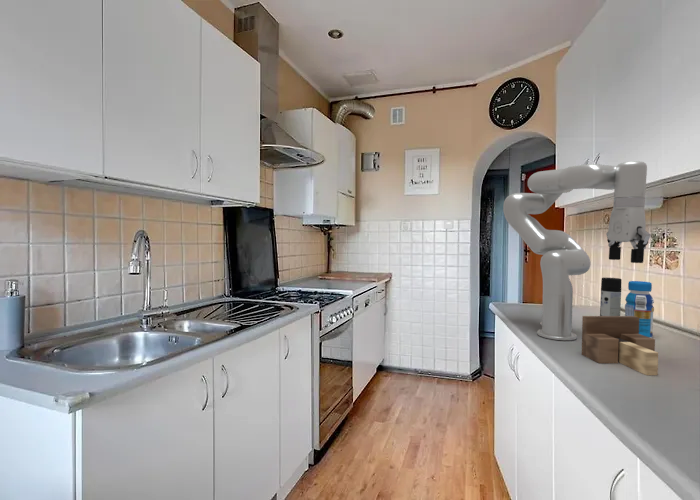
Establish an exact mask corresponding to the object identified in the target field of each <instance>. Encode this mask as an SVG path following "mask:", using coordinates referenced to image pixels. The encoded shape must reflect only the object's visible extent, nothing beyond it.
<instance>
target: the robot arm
mask: <svg viewBox="0 0 700 500" xmlns="http://www.w3.org/2000/svg"><path fill="white" fill-rule="evenodd" d="M647 175H648V165H647V163H646V162H644V161H639V160H638V161H625V162H621V163H618V164H617V165H609V164H597V163H596V164H595V163H593V164H592V163H590V164H581V165H579V164H578V165H572V166H568V167H565V168H559V169H549V170H543V171H542V170H541V171H537V172H534V173H533V174H531V175H530V176H529V178H527V187H528V189H529V190H530V191H531V193H530V192H515V193H512V194H510V195H508V196H507V197H506V198H505V199H504V201H503V207H502V209H503V216H504V218H505V220H506V221H507V223H508V224H509V225H510V227H511V228H513V230H514V231H515V232H516V233H517V234H518V235H519V237H520V238H521V239H522V240H523V241H524V243H525V244H526V246H528V248H529V249H530V250H531V251H532V252H533V253H534V254H536V255H541V257H540V263H539V264H540V270H541V276H542V311H541V312H542V313H541V316H542V317H541V318H542V319H541V321H540V322H539V323H540V325H541V329H538V330H537V332H536V334H537V335H538V336H540V337H541V338H543V339H544V338H545V339H549V340H557V341H575V340H577V338H578V337H577V336H578V335H577V334H576V333H574V332H572V330H573V329H572V327H573V299H574V297H573V293H574V292H573V291H574V290H573V285H572V284H573V283H572V282H571V279H570V276H581V275H584V274H586V273H587V272H588V271H589V270H590V268H591V259H590V256H589V255H588V253H587V252H586V251H585V250H584V248H582V247H581V245H580V244H579V243H578V242H577V241H576V240H575V239H574V238H573V237H572V236H571V235H570V234H569V233H567V232H565V231H563V230H558V229H547V228H545V227H544V226H543V225H542V224H541V223H540V222H539V221H538V220H537V219H536V218H535V217H533V216H531V215H539V214H543V213H545V212H546V211H547V210H548V209H550V207H552V205H553V204H554V203H555V202H556V201H557V200H558V199H559V198H560V197H561V196H562V195H563V194H565V193H566V194H567V193H570V192H572V191H573V190H580V189H583V190H585V189H587V190H588V189H589V190H590V189H592V190H607V191H608V190H609V191H610V190H614V191H613V205H612V210H611V213H610V217H609V222H608V228H607V229H608V230H607V232H606V237H607V243H608V245H607V246H608V247H609V248H608V249H609V251H608V259H609V260H611V261H613V260H614V261H615V260H616V261H617V260H621V252H622V247H621V245H622V243H629V242H630V244H631V246H632V248H630V249H631V251H630V263H632V264H643V263H644V256H645V250H646V249H647V245H648V244H649V242H650V238H651V237H652V235H651V233H650V232H648V231H647V229H646V228H647V225H646V223H647V221H646V212H645V205H646V204H645V203H646V189H647V188H646V187H647Z"/></svg>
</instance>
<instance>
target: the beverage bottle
mask: <svg viewBox="0 0 700 500" xmlns="http://www.w3.org/2000/svg"><path fill="white" fill-rule="evenodd" d="M652 284H653V283H652V282H649V281H642V280H641V281H640V280H630V281H628V287H627V289H628V291H629V293H628V294H627V295H626V297H625V302H626V303H625V304H624V312H625V313H624V316H636V317H639V334H641V335H644V336H647V337H650V338H653V337H654V336H653V331H654V330H653V326H654V325H653V324H654V312H655V308H654V306H653V305H654V303H655V300H654V298H653V296H652V294H651V292H652V289H653V287H652V286H653V285H652Z"/></svg>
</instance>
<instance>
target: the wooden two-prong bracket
mask: <svg viewBox="0 0 700 500" xmlns="http://www.w3.org/2000/svg"><path fill="white" fill-rule="evenodd" d="M581 319H582V321H581V323H582V325H581V355H582V356H584V357H585V358H587V359H589V360H591V361H593V362H595V363H597V364H619V362H618V345H619V339H617V338H621V339H623V340H626V341H629V342H631V343H634V344H636V345H639V346H642V347H644V348H647V349H650V350H652V351H655V352H656V346H655V345H656V339H655V338H653V337H652V338H650V337H647V336H644V335H641V334H639V317H636V316H625V315H620V316H600V315H582V317H581Z"/></svg>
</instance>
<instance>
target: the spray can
mask: <svg viewBox="0 0 700 500" xmlns="http://www.w3.org/2000/svg"><path fill="white" fill-rule="evenodd" d="M600 284H601V285H600V304H599V305H600V307H599V309H600V310H599V316H621V307H622V304H621V303H622V284H623V283H622V278H618V277H601V283H600Z"/></svg>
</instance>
